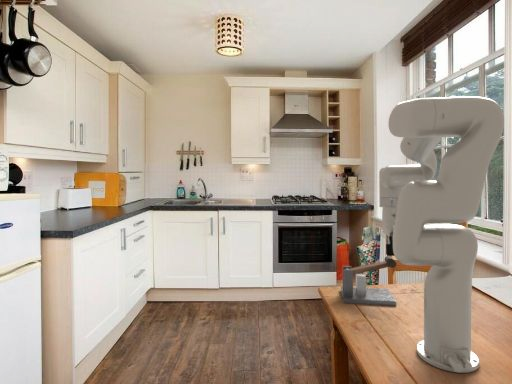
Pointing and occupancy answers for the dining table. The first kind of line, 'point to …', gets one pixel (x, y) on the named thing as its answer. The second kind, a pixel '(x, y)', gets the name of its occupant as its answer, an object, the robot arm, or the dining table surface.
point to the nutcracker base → (370, 292)
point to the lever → (375, 266)
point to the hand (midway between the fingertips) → (391, 255)
